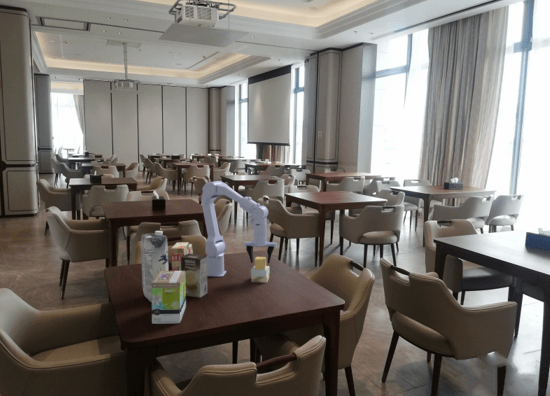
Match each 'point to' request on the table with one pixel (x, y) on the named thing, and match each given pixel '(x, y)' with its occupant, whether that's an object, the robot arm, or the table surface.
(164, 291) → the tea box
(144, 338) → the table surface
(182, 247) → the red cream box
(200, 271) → the coffee box
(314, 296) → the table surface
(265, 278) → the birch slab
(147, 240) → the juice carton
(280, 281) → the table surface
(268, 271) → the grey-blue slab
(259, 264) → the mustard cube
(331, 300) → the table surface
